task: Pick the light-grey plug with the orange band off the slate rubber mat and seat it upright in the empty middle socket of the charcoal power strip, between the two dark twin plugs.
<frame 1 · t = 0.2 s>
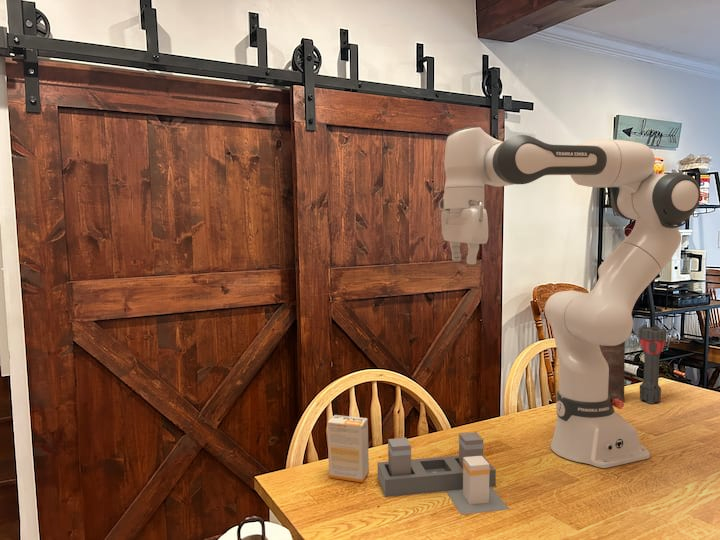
hand: (463, 262, 120), 47 cm above the table, fingers open, 8 cm apart
twin plug 2: (470, 471, 115), point 2 cm above the table, touching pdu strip
flashlight: (649, 400, 166), on the table
plug: (475, 498, 107), resting on mat
mat: (475, 500, 107), on the table
brown tall block: (610, 400, 166), on the table
supplement box: (348, 476, 118), on the table
twin plug 1: (399, 478, 113), point 2 cm above the table, touching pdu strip
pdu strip: (435, 483, 114), on the table
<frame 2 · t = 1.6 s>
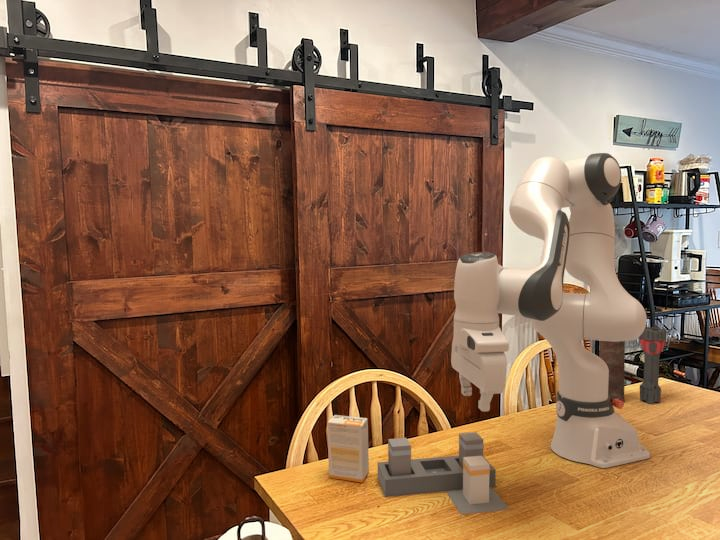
hand: (474, 402, 106), 20 cm above the table, fingers open, 8 cm apart
nothing on the table moved.
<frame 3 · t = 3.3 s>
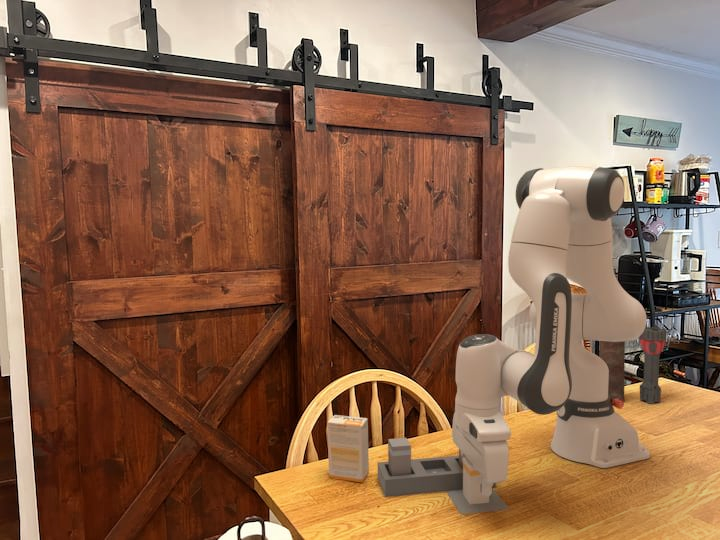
hand: (476, 482, 107), 4 cm above the table, fingers open, 8 cm apart
twin plug 2: (470, 471, 115), point 2 cm above the table, touching gripper, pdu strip
everything else where it was.
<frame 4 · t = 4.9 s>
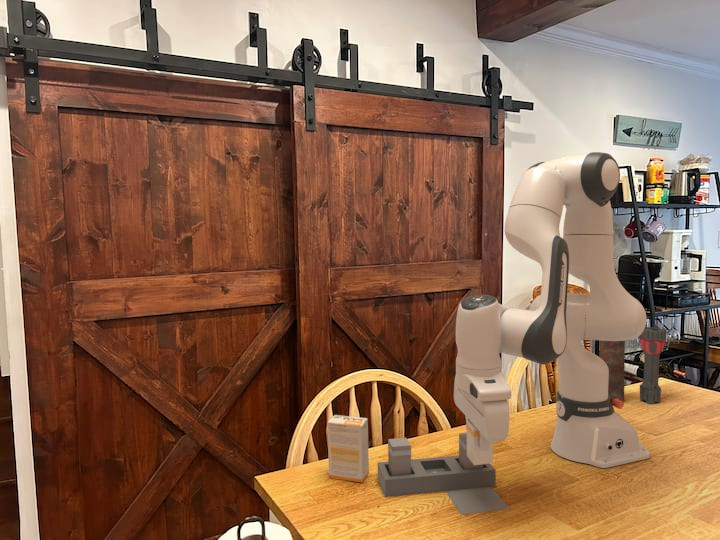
hand: (478, 442, 107), 12 cm above the table, fingers closed on plug, 4 cm apart
twin plug 2: (470, 471, 115), point 2 cm above the table, touching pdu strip
plug: (479, 459, 107), point 8 cm above the table, touching gripper
everything else where it was.
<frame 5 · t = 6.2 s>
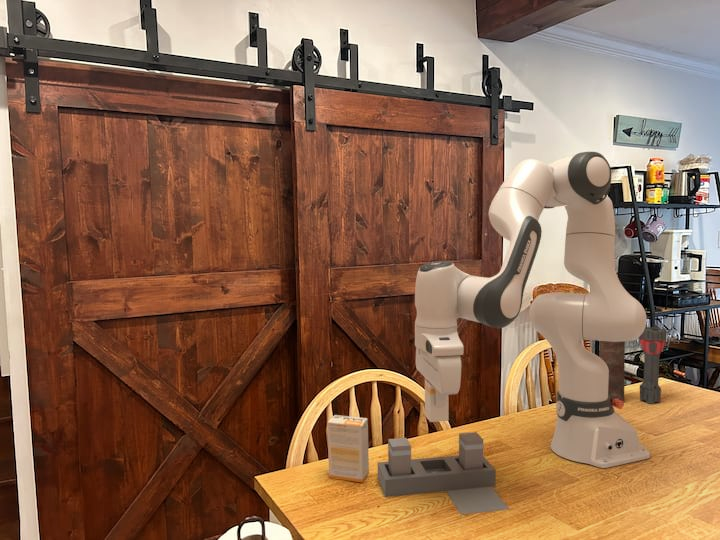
hand: (435, 401, 113), 18 cm above the table, fingers closed on plug, 4 cm apart
plug: (436, 417, 113), point 15 cm above the table, touching gripper
everything else where it was.
when the fingers open (6 cm above the table, at t = 7.9 s): plug stays where it is, resting on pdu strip.
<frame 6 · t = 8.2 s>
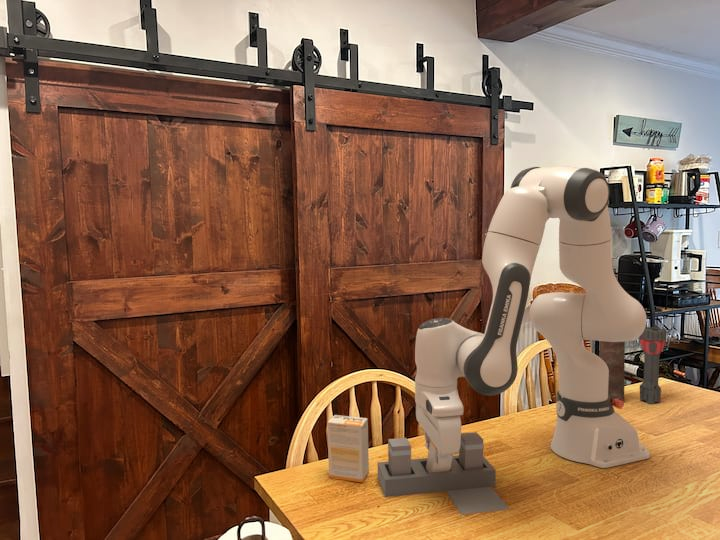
hand: (435, 456, 114), 6 cm above the table, fingers open, 7 cm apart
plug: (437, 473, 114), point 2 cm above the table, tilted 10°, touching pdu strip
everything else where it was.
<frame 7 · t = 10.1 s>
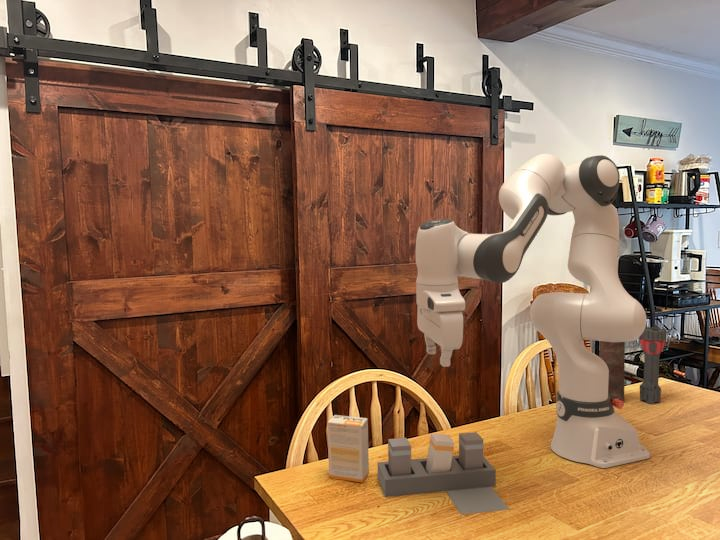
hand: (437, 359, 114), 27 cm above the table, fingers open, 8 cm apart
nothing on the table moved.
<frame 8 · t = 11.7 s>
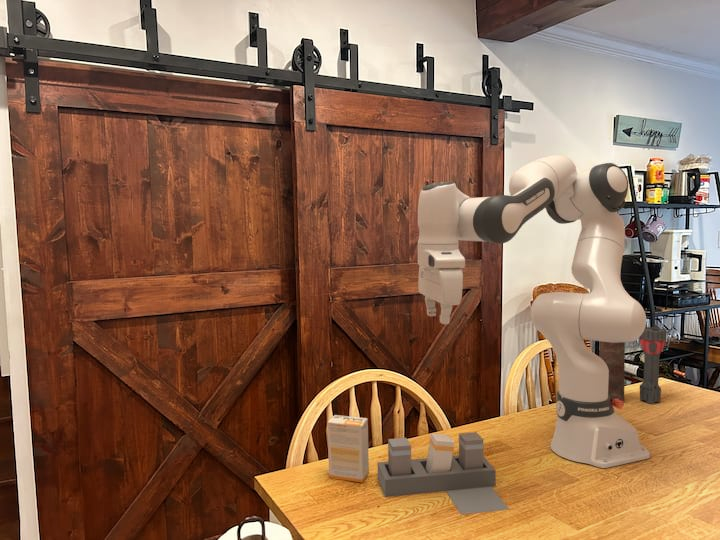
hand: (437, 319, 116), 35 cm above the table, fingers open, 8 cm apart
nothing on the table moved.
at the end: plug 0.3 cm off-centre on the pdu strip, point 2.3 cm above the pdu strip's base; plug tilted 9°; the gripper is holding nothing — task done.
